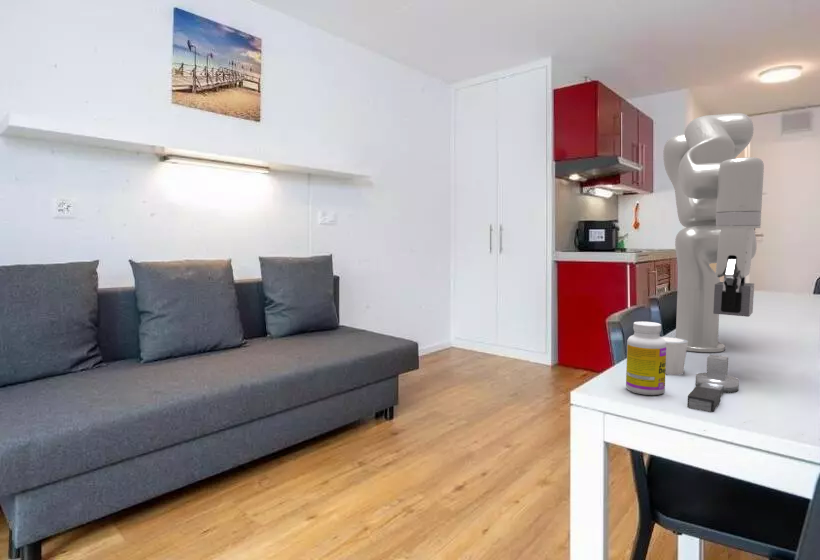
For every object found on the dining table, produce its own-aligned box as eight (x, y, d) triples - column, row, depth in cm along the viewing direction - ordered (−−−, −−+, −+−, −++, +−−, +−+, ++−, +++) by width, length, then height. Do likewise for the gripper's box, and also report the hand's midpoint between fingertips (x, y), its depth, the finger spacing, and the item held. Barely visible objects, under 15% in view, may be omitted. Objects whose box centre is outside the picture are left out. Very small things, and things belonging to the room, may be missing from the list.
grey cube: (718, 309, 103) (719, 281, 103) (752, 312, 100) (754, 283, 99) (713, 313, 99) (714, 284, 98) (748, 316, 95) (750, 286, 94)
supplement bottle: (663, 398, 87) (665, 327, 86) (623, 392, 90) (625, 324, 89) (666, 388, 93) (668, 322, 91) (628, 383, 96) (630, 319, 95)
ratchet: (699, 380, 98) (700, 351, 97) (740, 386, 93) (742, 356, 93) (676, 405, 83) (677, 371, 83) (724, 415, 79) (725, 379, 78)
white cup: (691, 376, 101) (692, 343, 100) (655, 374, 102) (657, 342, 101) (680, 367, 107) (681, 336, 107) (646, 366, 109) (647, 335, 108)
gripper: (723, 221, 106) (718, 303, 108) (708, 221, 93) (703, 314, 95) (765, 221, 101) (760, 306, 103) (755, 220, 88) (750, 318, 90)
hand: (733, 309), depth 99 cm, fingers closed on grey cube, 6 cm apart
